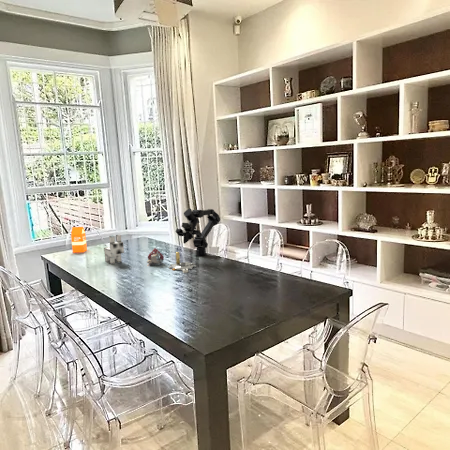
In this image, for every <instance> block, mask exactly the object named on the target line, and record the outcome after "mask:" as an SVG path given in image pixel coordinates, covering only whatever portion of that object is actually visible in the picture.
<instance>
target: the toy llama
mask: <svg viewBox="0 0 450 450" xmlns="http://www.w3.org/2000/svg"><path fill="white" fill-rule="evenodd" d="M115 238H116V241H115ZM108 239H109V246H108V247H104V248H103V249H104V262H105V263H109V264H111V265H115V264H116V263H118V264H119V263H122V254H125V250H124V248H125V247H124V242H123V241H122V235H121V234H119V233H118V234H115V235H109V237H108Z"/></svg>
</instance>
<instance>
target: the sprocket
mask: <svg viewBox="0 0 450 450" xmlns="http://www.w3.org/2000/svg"><path fill="white" fill-rule="evenodd" d="M180 255H181V254H180V251H176V252H175V260H176V261H175V263H171V264H170V265H169V266H168V269H171V271H175V270H178V271H183V269H185V268H186V269H188V270H193V268H196V267H197V265H196V263H195V262H189V261H185V262H184V261H183V262H181V257H180Z"/></svg>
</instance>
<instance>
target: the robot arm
mask: <svg viewBox="0 0 450 450" xmlns="http://www.w3.org/2000/svg"><path fill="white" fill-rule="evenodd" d="M183 216H184V217H185V218H186V220H187V221H188V222H182V223H181V228H176V229H175V233H176V234H177V235H178V236H179V237H183V244H187V243H188V242H189V241H190V240H192V239H193V240H192V242H193V246H194V248H196V249H195V251H196V253H195V256H198V257H204V256H207V255H208V253H207V250H206V249H207V248H208V246H209V243H208V242H207V237H208V236H209V234H210V233H211V230H212V229H213V228H214V227H215V226H217V225H218V224H219V223H220V221H221V217H220V215H219V214H218V213H217V212H216V211H215V210H214V209H213V208H207V209H191V208H188V209H187V210H185V211H184V212H183ZM204 216H206V218H207V223H206V225H205V226H204V228H203V229H202V230H201V231H200V230H199V229H197V224H199V223H200V220H199V218H200V219H201V218H203V217H204ZM182 228H183V229H182ZM194 236H195V237H194Z"/></svg>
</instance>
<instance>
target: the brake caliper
mask: <svg viewBox="0 0 450 450" xmlns="http://www.w3.org/2000/svg"><path fill="white" fill-rule="evenodd" d="M164 258H165V256H164V255H163V254H162V252H160V250H158V248H155V247H154V248H153V250H152V251H151V252H150V253H149V254H148V255H147V259H148V260H147V261H146V264H147V266H146V267H149V266H160V265H162V263H163V262H164V260H165V259H164Z"/></svg>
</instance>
